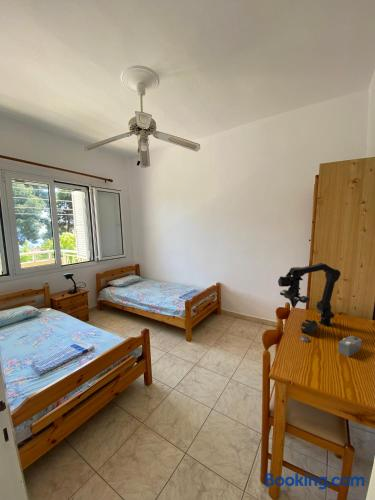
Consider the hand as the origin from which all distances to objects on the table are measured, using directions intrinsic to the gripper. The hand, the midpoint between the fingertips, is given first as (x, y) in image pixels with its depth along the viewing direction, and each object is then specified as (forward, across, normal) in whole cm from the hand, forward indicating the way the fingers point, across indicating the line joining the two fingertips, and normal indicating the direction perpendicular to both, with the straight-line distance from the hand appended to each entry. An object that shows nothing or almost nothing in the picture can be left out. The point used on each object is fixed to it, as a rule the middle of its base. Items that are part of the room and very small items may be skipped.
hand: (293, 307), depth 143 cm
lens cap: (+12, +16, -11) cm, 23 cm away
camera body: (+12, +34, 0) cm, 37 cm away
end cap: (+12, +12, 0) cm, 17 cm away
